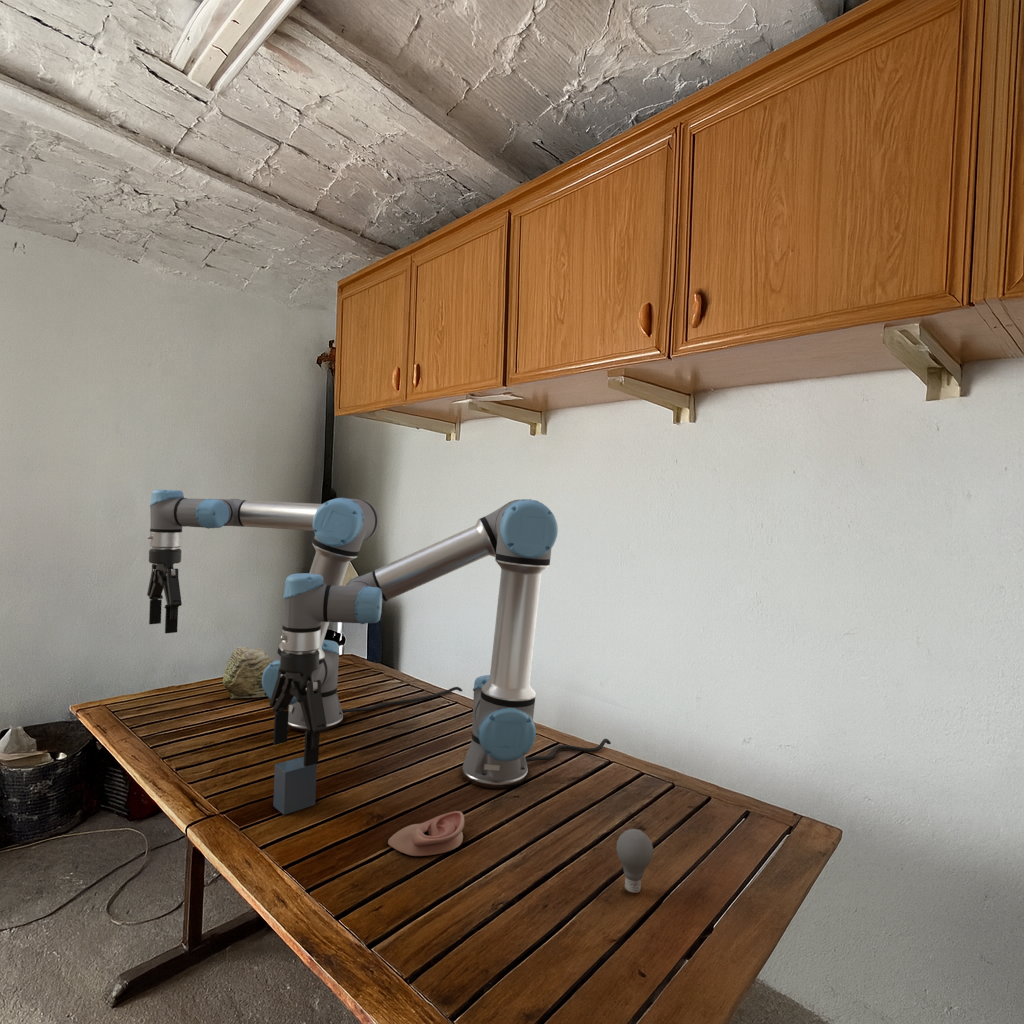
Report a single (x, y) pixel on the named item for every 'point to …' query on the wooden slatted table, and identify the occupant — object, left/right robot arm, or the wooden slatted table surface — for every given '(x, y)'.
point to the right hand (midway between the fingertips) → (294, 753)
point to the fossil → (246, 673)
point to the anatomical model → (430, 835)
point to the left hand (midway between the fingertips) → (162, 628)
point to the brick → (294, 786)
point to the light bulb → (634, 857)
